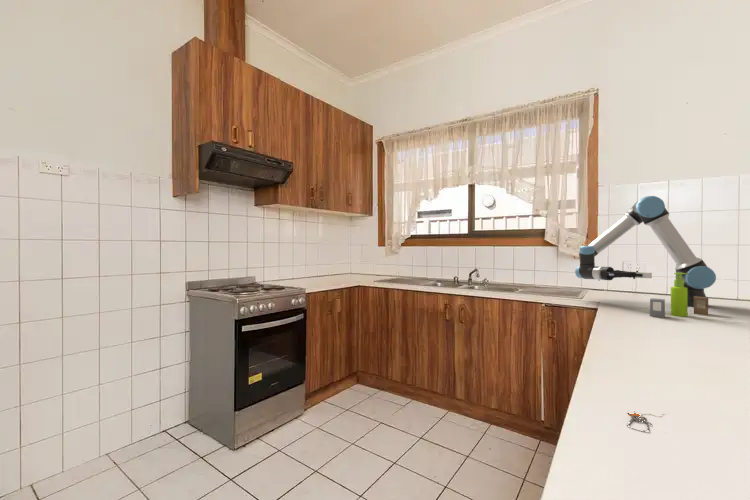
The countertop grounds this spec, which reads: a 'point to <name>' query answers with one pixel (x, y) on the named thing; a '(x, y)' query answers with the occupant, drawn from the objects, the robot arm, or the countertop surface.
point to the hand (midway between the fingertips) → (650, 275)
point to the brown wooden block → (701, 305)
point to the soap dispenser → (679, 297)
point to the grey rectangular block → (657, 307)
